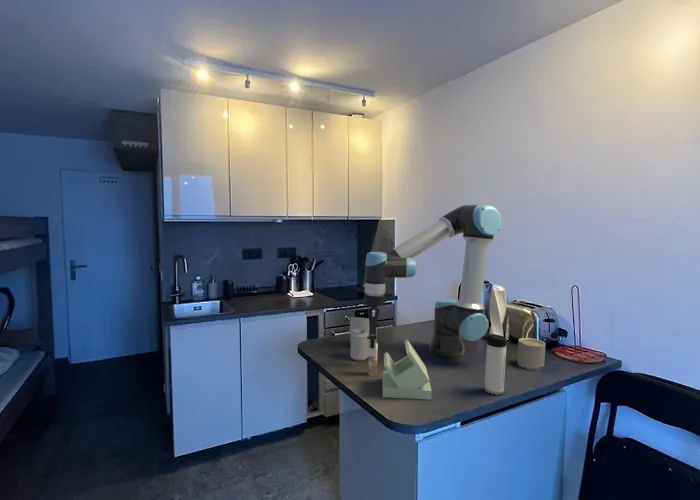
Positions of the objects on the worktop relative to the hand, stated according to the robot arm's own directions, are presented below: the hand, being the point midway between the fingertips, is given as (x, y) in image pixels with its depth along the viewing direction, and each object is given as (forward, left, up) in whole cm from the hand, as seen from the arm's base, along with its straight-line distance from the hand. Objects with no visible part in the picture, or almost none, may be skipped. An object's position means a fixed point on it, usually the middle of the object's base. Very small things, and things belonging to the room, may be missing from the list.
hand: (372, 349), depth 148 cm
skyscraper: (-59, -48, -10) cm, 77 cm away
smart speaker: (+7, -32, -10) cm, 34 cm away
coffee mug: (-65, -18, -10) cm, 69 cm away
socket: (-12, +11, -9) cm, 19 cm away
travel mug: (-42, +9, -10) cm, 44 cm away
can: (+6, -16, -10) cm, 20 cm away
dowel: (0, 0, -10) cm, 10 cm away
